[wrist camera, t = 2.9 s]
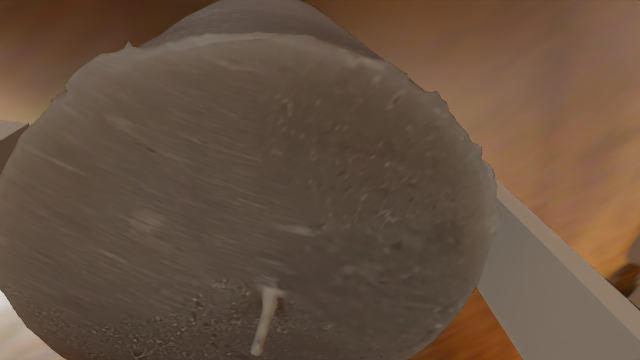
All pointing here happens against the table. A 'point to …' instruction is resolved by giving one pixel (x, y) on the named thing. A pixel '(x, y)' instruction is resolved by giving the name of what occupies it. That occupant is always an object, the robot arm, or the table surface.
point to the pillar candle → (244, 199)
